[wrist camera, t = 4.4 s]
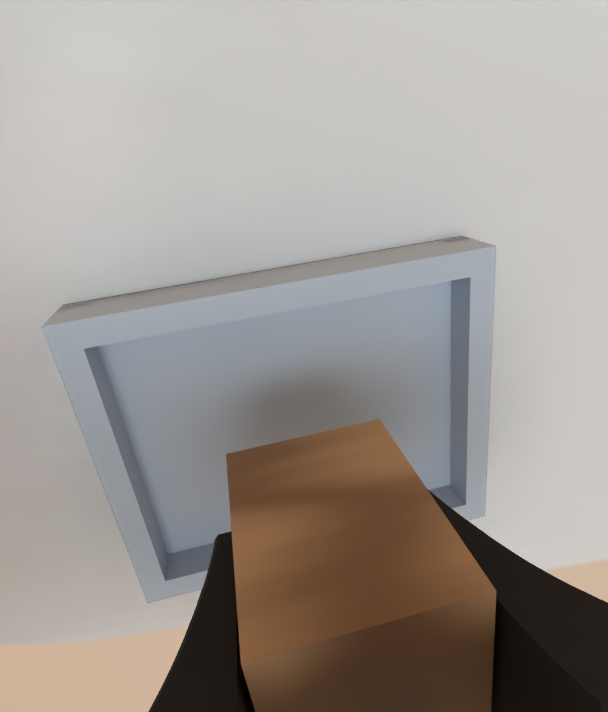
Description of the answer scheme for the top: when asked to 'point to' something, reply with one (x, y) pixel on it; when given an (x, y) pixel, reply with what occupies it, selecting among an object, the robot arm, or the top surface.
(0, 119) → the top surface
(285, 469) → the walnut block
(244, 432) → the tray
